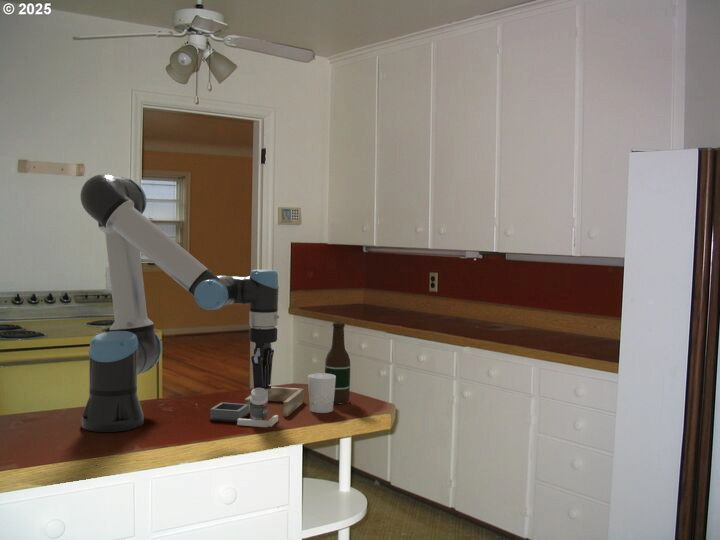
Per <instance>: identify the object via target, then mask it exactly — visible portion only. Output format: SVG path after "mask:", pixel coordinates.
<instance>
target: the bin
mask: <svg viewBox="0 0 720 540" xmlns="http://www.w3.org/2000/svg"><path fill="white" fill-rule="evenodd" d="M209 412H210V413H209V414H210V415H209V416H210V417H209V420H210V421H215V422H226V423H228V422H229V423H237V419H239V418H240V419H246V418H247V417H249V416H250V413H249V404H245V403H237V402H236V403H233V402H220V403H218V404H216V405H214V406H213V407H211V408H210V410H209Z"/></svg>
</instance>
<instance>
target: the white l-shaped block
mask: <svg viewBox="0 0 720 540" xmlns="http://www.w3.org/2000/svg"><path fill="white" fill-rule="evenodd" d="M277 422H279V415H278V414H274V415H272V416H271V418H269V419H267V420H253V419H251V418H244V419H240V418H239V419H237V422H236V425H237V426H244V427H245V426H246V427H247V426H248V427H257V428H268V427H271V428H272V427H273V426H274V425H275V424H276V423H277Z"/></svg>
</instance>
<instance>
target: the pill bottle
mask: <svg viewBox="0 0 720 540" xmlns="http://www.w3.org/2000/svg"><path fill="white" fill-rule="evenodd" d="M253 388H254V387H253ZM253 388H252V389H251V392H250V395H251V398H250V413H249V417H250V418H249V419H253V420H266V421H268V420H269V419H268V418H269V401H268V398H267V396H266V390H265V389H264V388H254V389H253Z"/></svg>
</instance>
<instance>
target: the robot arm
mask: <svg viewBox="0 0 720 540" xmlns="http://www.w3.org/2000/svg"><path fill="white" fill-rule="evenodd" d="M79 197H80V203H81V205H82V207H83V208H82V209H84V211H85V212H87V214H88V215H89V216H90V217H91V218H92V219H93V220H95V221H96V222H97V223H98V224H97V225H98V229H99V230H100V231H102V232H103V233H104V234H105V242H106V252H107V262H108V270H109V279H110V288H111V297H112V306H113V315H114V317H113V318H114V321H113V323H112V324H111V326H110V327H109V331H107V332H101V333H98V334H96V335H94V336H93V337H92V338H91V339H90V341H89V350H88V355H89V356H88V357H89V360H88V362H89V363H88V367H89V369H88V374H89V375H88V376H89V377H88V378H89V380H88V382H89V389H88V390H89V391H88V393H89V395H88V399H87V402H86V405H85V408H84V410H83V413H82V416H81V428H82V429H83V430H86V431H89V432H95V433H116V432H124V431H129V430H133V429H137V428H139V427H141V426H143V425H144V422H145V421H144V420H145V419H144V412H143V409H142V406H141V403H140V399H139V397H138V375H140V374H143V373H146V372H148V371H150V370H151V369H152V368H153V367H154V366H155V365H156V364H157V363H158V362H159V360H160V358H161V356H162V352H163V345H162V341H161V338H160V337H159V336H158V335H157V333H155V323H154V322H153V321H152V320H151V319H150V318H149V317H148V311H147V303H146V293H145V284H144V276H143V275H144V274H143V265H142V264H143V263H142V255H144V256H145V257H146V258H147V259H148V260H150V261H151V262H152V263H154V265H156V266H157V267H158V268H159V269H160V270H162V271H163V272H164V273H165V274H167V276H168V277H170V278H171V279H173V280H174V281H175V282H176V283H178V285H180V286H181V287H182V288H184V289H185V290H186V291H187V292H188V293H189V294H191V296H193V297H194V301H195V303H196V304H197V306H199V307H200V308H202V309H203V310H206V311H212V310H215V311H216V310H219V309H221V308H222V307H225V306H228V305H249V315H248V316H249V320H248V321H249V322H248V323H249V326H250V328H249V331H248V333H249V334H248V338H249V342H251V343H255V346H254V349H253V355H251V358H250V359H251V364H252V379H253V387H252V390H253V389H254V388H264V389H265V390H266V396H267V398H268V389H271V387H272V385H271V384H272V383H271V380H272V370H273V360H274V354H275V349H273V348H272V343H275V342H277V341H278V328H277V326H278V319H280V315H278V312H279V311H278V305H279V287H280V286H279V276H278V275H279V274H278V272H277V271H276V270H274V269H251V271H250V273H249V276H235V275H234V276H232V275H231V276H229V275H227V276H226V275H216V274H214V272H212V271H211V270H210V269H208V268H207V267H206V266H205V265H204V264H203V263H202V262H200V261H199V260H198V259H197V258H196V257H194V256H193V255H192V254H191V253H190V252H188V251H187V250H186V249H184V247H182V246H181V245H180V244H179V243H178V242H176V241H175V240H174V239H172V238H171V237H170V236H169V235H168V234H167V233H165V232H164V231H163V230H162V229H160V228H159V226H157V225H156V224H154V223H153V222H152V221H151V220H150V219H149V218H148V217H146V216H145V215H144V214H143V213H144V212H145V211H146V207H147V195H146V194H145V191H144V189H143V187H141V185H140V184H138V182H136V181H135V180H132V179H130V178H127V177H124V176H115V175H111V174H103V173H102V174H97V175H94V176H91V177H90V178H88V179H87V180H86V181H85V183H84V184H83V185H82V188H81V191H80V196H79ZM141 254H142V255H141Z"/></svg>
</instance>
